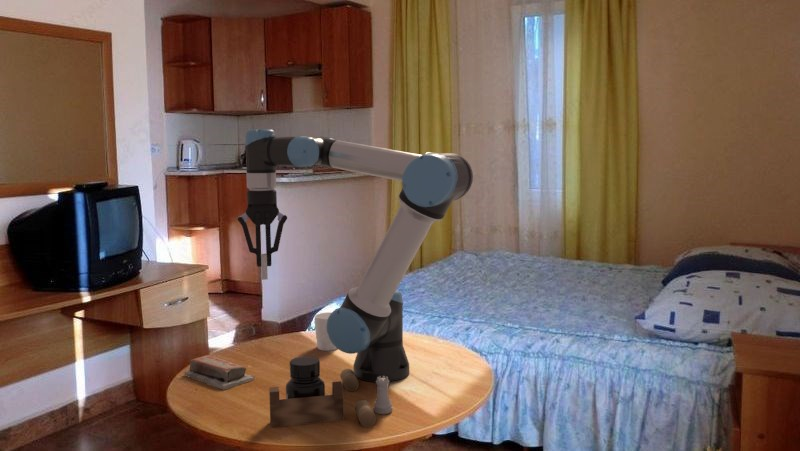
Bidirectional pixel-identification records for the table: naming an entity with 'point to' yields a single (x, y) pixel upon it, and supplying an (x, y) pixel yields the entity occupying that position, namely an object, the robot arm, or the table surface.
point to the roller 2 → (365, 413)
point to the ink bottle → (305, 378)
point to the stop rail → (306, 408)
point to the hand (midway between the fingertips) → (264, 278)
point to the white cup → (323, 332)
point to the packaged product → (218, 372)
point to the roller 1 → (349, 380)
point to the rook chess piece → (382, 396)
